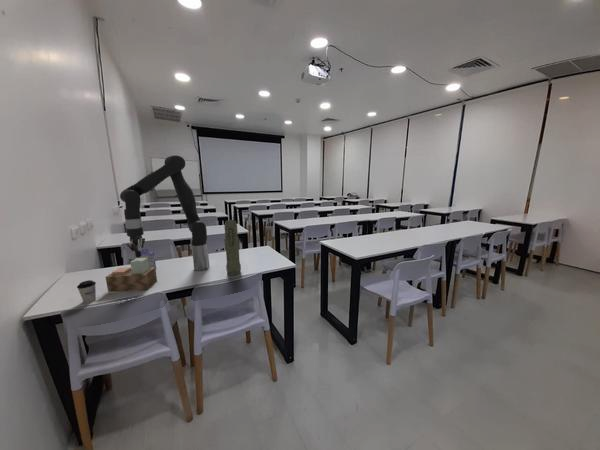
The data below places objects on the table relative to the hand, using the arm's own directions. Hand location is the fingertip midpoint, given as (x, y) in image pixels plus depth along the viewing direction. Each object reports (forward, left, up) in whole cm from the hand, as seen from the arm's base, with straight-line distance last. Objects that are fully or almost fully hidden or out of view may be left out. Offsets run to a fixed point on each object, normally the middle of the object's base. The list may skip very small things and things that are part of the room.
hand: (138, 257), depth 127 cm
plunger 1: (+10, 0, -17) cm, 20 cm away
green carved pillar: (-49, -12, -18) cm, 54 cm away
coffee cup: (+18, +14, -18) cm, 29 cm away
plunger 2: (0, 0, -12) cm, 12 cm away
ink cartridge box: (+10, -24, -18) cm, 31 cm away
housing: (+5, 0, -18) cm, 18 cm away
